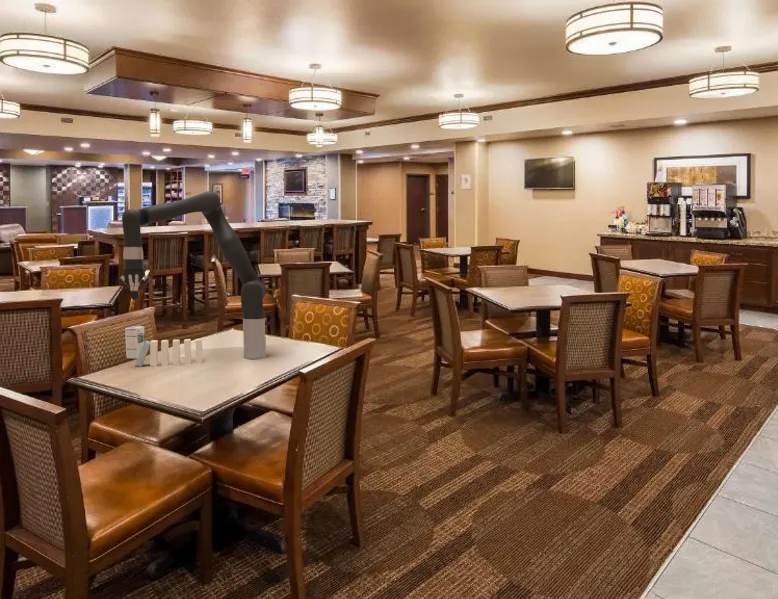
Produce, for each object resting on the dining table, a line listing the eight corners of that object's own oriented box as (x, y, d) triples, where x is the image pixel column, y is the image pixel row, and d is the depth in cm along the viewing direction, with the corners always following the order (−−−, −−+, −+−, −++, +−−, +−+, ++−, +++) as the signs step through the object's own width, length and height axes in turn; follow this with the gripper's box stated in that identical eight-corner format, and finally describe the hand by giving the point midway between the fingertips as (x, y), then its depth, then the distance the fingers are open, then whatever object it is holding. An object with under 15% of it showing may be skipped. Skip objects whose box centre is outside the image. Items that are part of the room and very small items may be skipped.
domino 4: (180, 362, 252) (179, 339, 251) (179, 364, 247) (178, 341, 246) (174, 363, 251) (173, 339, 250) (173, 365, 246) (172, 341, 245)
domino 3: (169, 363, 250) (168, 339, 250) (168, 365, 246) (167, 341, 245) (162, 363, 250) (162, 340, 249) (161, 365, 245) (161, 341, 244)
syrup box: (138, 360, 257) (136, 327, 255) (125, 360, 258) (124, 327, 257) (146, 358, 262) (144, 326, 261) (134, 358, 263) (132, 325, 262)
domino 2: (157, 363, 249) (157, 340, 249) (156, 366, 244) (156, 341, 244) (151, 363, 249) (151, 340, 248) (150, 366, 244) (150, 341, 243)
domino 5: (191, 362, 253) (190, 338, 252) (190, 364, 248) (190, 340, 247) (185, 362, 252) (184, 339, 251) (184, 364, 247) (184, 340, 247)
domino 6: (202, 361, 254) (201, 338, 253) (202, 363, 249) (201, 340, 249) (196, 361, 253) (195, 338, 253) (196, 364, 249) (195, 340, 248)
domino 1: (134, 364, 242) (144, 342, 243) (136, 362, 247) (146, 340, 247) (140, 366, 243) (150, 344, 243) (142, 364, 248) (151, 342, 248)
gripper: (151, 258, 251) (153, 299, 252) (117, 258, 247) (119, 299, 249) (149, 258, 244) (151, 300, 245) (114, 258, 240) (116, 301, 242)
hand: (134, 299), depth 247 cm, fingers closed
